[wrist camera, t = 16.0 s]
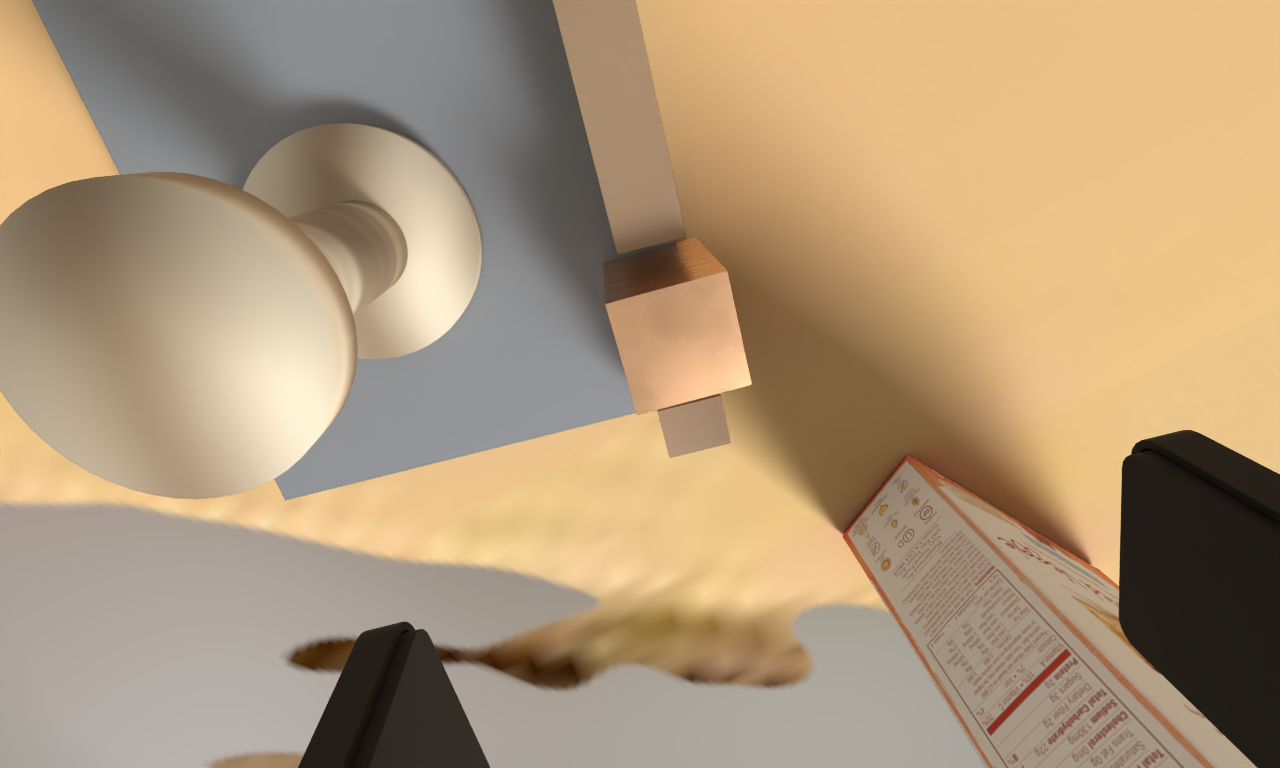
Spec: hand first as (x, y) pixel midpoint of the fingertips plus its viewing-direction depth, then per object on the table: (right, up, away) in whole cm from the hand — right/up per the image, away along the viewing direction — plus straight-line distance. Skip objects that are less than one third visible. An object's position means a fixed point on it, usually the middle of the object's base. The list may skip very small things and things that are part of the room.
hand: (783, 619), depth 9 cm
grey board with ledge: (-11, +11, +19) cm, 25 cm away
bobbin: (-13, +9, +18) cm, 24 cm away
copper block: (-1, +7, +20) cm, 21 cm away
